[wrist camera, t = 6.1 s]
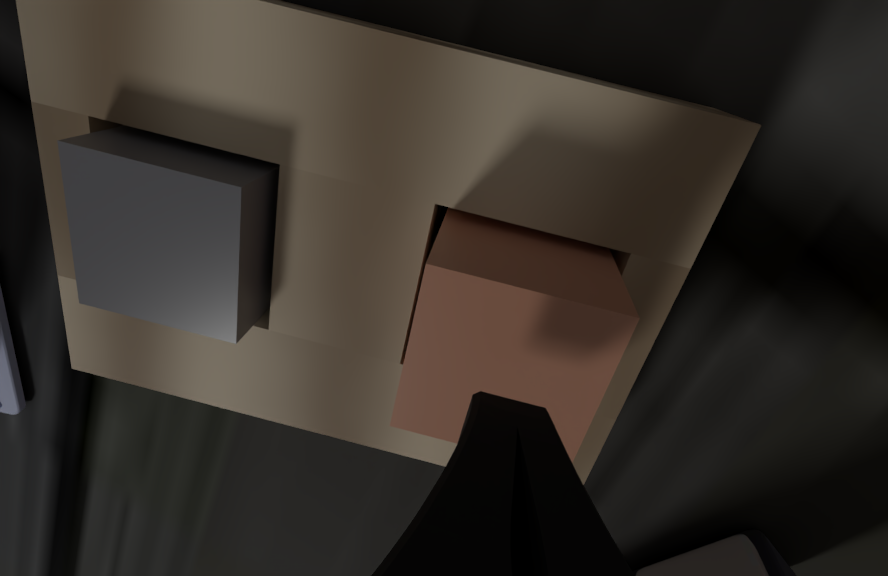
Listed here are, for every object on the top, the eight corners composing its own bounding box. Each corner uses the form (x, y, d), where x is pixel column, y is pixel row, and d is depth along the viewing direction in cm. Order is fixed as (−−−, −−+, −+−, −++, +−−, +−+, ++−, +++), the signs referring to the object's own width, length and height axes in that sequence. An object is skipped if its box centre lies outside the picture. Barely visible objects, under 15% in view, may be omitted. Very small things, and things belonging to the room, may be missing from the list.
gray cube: (169, 248, 17) (79, 303, 14) (164, 116, 15) (57, 140, 12) (294, 280, 17) (236, 344, 14) (305, 152, 15) (241, 187, 12)
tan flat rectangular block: (133, 322, 19) (71, 368, 17) (104, -43, 14) (6, -63, 11) (567, 435, 19) (575, 500, 16) (713, 108, 14) (761, 125, 11)
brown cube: (418, 338, 16) (389, 426, 12) (449, 204, 14) (425, 263, 10) (556, 373, 16) (568, 472, 12) (607, 245, 14) (640, 318, 10)
